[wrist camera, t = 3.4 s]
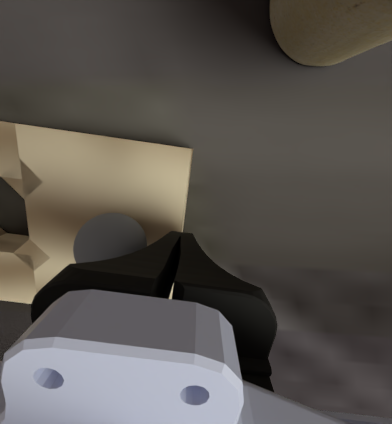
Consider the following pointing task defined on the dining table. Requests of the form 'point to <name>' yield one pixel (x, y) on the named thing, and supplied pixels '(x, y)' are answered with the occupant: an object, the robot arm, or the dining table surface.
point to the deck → (82, 196)
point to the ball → (108, 238)
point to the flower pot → (330, 28)
